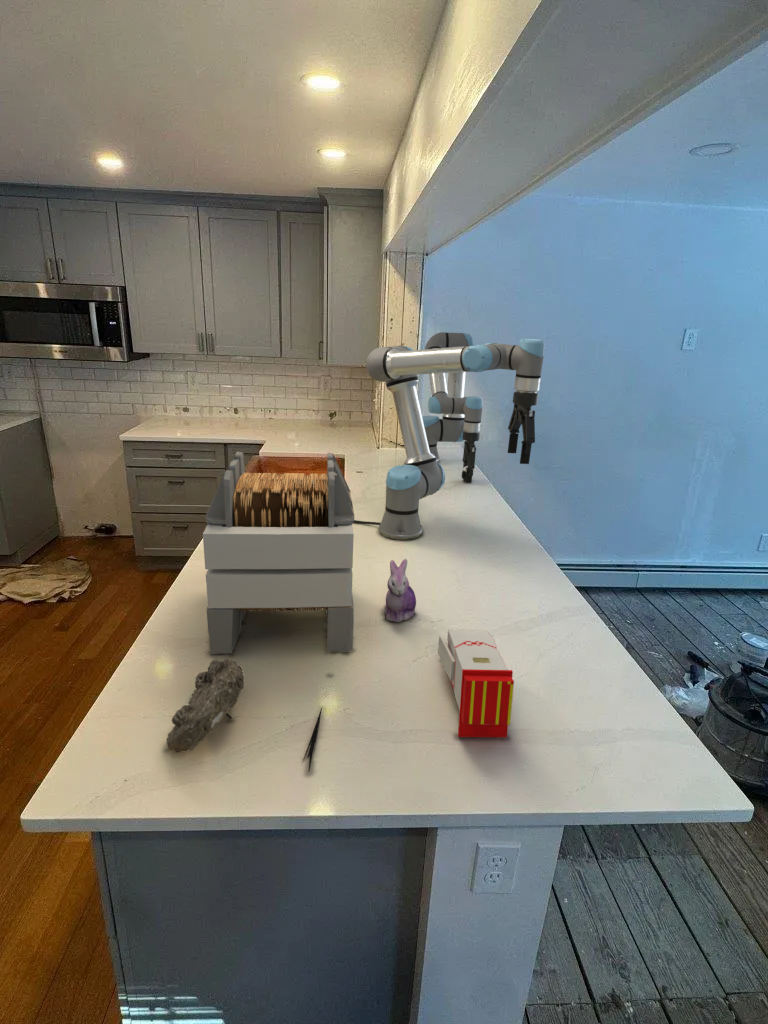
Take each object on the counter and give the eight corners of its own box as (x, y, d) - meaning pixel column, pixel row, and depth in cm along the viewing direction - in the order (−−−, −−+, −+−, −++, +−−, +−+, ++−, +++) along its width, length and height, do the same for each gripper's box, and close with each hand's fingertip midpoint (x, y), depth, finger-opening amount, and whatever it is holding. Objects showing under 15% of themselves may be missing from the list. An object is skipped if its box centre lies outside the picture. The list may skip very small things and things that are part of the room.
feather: (331, 679, 122) (336, 673, 122) (307, 777, 96) (313, 769, 95) (324, 675, 122) (329, 669, 121) (298, 772, 95) (304, 764, 95)
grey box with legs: (229, 585, 158) (221, 442, 144) (346, 584, 161) (350, 444, 148) (206, 656, 126) (193, 481, 112) (353, 652, 130) (358, 483, 116)
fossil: (192, 660, 117) (244, 628, 112) (224, 691, 120) (276, 661, 115) (142, 746, 98) (202, 712, 93) (182, 779, 101) (242, 748, 96)
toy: (488, 613, 130) (523, 677, 101) (484, 667, 133) (517, 744, 104) (435, 612, 130) (455, 676, 101) (432, 666, 133) (451, 743, 103)
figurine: (392, 627, 141) (395, 572, 136) (374, 608, 149) (376, 556, 144) (425, 619, 145) (429, 566, 140) (405, 601, 154) (408, 550, 149)
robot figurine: (461, 483, 262) (462, 467, 259) (459, 480, 266) (460, 464, 264) (474, 483, 263) (475, 467, 260) (471, 480, 267) (473, 465, 264)
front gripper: (552, 397, 164) (542, 468, 171) (525, 386, 187) (517, 449, 194) (526, 397, 163) (517, 468, 170) (503, 385, 187) (496, 448, 194)
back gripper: (484, 436, 247) (479, 486, 255) (474, 427, 266) (470, 474, 274) (468, 435, 247) (463, 486, 255) (459, 426, 265) (454, 474, 273)
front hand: (517, 458), depth 182 cm, fingers open, 13 cm apart
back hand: (466, 480), depth 264 cm, fingers open, 7 cm apart
